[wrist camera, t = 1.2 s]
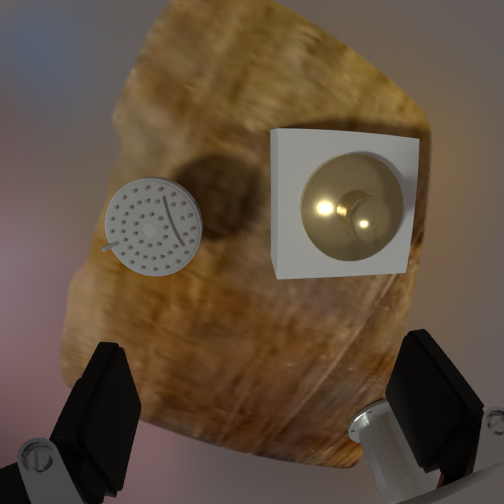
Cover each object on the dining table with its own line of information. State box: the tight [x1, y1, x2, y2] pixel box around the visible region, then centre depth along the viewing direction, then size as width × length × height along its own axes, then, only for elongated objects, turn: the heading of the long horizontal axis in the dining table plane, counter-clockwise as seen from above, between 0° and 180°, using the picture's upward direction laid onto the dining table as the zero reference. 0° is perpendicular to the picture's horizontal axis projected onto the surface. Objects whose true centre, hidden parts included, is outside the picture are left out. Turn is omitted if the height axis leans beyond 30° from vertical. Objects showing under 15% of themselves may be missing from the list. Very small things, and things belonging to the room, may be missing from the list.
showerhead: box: [102, 177, 203, 276], centre depth 30 cm, size 9×7×10 cm
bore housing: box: [271, 128, 419, 279], centre depth 31 cm, size 14×14×6 cm
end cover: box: [300, 154, 403, 261], centre depth 27 cm, size 10×10×10 cm
